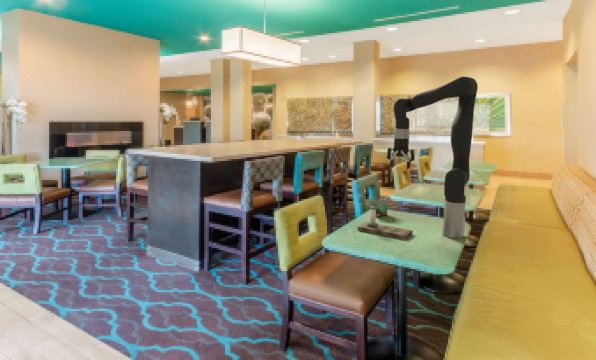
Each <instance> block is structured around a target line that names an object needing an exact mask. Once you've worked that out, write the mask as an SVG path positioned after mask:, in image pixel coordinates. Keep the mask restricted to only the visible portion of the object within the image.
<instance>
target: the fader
mask: <svg viewBox="0 0 596 360" xmlns="http://www.w3.org/2000/svg"><path fill="white" fill-rule="evenodd" d="M369 208H370V216H369V218H370V219H369V223H368V224H367V226H371V227H376V226H377V225H378V224H379V223H378V222H376V218H377V217H376V209H377V207H376V206H375V205H370V207H369Z"/></svg>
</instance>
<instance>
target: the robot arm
mask: <svg viewBox="0 0 596 360" xmlns="http://www.w3.org/2000/svg"><path fill="white" fill-rule="evenodd" d="M478 85H479V84H478V82H477V80H476V79H475V78H473V77H471V76H460V77H458V78H457V77H456V78H455V79H454V80H452V81H449V82H448V83H445V84H444V85H440V86H438V87H436V88H432V89H430V90H426V91H425V90H424V91H423V92H419V93H416V94H414V95H413V96H411V97H408V98H398V99H396V100H395V102H394V104H393V113H394V115H393V116H394V119H395V123H394V124H395V127H394V135H393V137H394V138H393V147H388V148H387V151H386V152H387V153H386V154H387V156H386V159H387V160H389V166H390V168H394V167H395V159H396V158H397V157H399V158H404V159H405V160H406V169H407V170H409V169H410V168H411V163H412V162H413V161H415V159H416V158H415V155H416V154H415V153H416V152H415V149H414V148H412V149H409V146H410V118H409V117H407V113H410V112H412V111H414V110H415V111H416V110H417V109H422V108H424V107H428V106H430V105H433V104H436V103H438V102H440V101H442V100H447V99H450V98H458V100H457V101H458V105H457V111H456V113H455V115H454V118H453V121H452V123H451V131H450V145H451V150H452V155H453V156H452V157H453V160H452V166H451V169H450V170H448V171H447V172H446V173H445V176H444V184H443V185H444V189H443V191H444V192H443V193H444V210H443V221H442V222H443V223H442V236H444V237H447V238H449V239H463V237H464V236H465V226H466V216H465V213H466V202H467V200H466V199H467V197H466V195H465V188H466V187H465V186H466V185H467V184H468V183H469V181H470V176H471V175H470V174H471V173H470V155H471V149H472V138H473V129H474V127H473V126H474V114H475V113H474V111H475V105H476V104H475V103H476V98H477V94H478V89H479V87H478ZM392 152H393V154H392ZM409 154H410V156H409Z"/></svg>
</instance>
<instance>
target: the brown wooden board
mask: <svg viewBox="0 0 596 360" xmlns="http://www.w3.org/2000/svg"><path fill="white" fill-rule="evenodd" d="M368 223H370V221H369V222H367V221H365V222H364V223H362V224H359V225H357V231H358V232H359V231H360V232H363V233H369V234H374V235H378V236H379V235H380V236H384V237H390V238H393V239H394V238H395V239H399V240H404V241H405V240H408V239H409V238H410V237H412V235H413V233H414V232H413V230H411V229H405V228H401V227H400V228H399V227H396V226H391V225H384V224H379V223H378V225H377V226H376V227H371V226H367V224H368Z"/></svg>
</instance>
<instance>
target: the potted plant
mask: <svg viewBox="0 0 596 360" xmlns="http://www.w3.org/2000/svg"><path fill="white" fill-rule="evenodd" d="M373 203H374V206H376V207H377V209H376V216H378V217H377V218H384V216H385V217H387V216H388V208H389V204H390V199H389V198H388V197H387V196H382V198H379V199H374V201H373Z"/></svg>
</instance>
